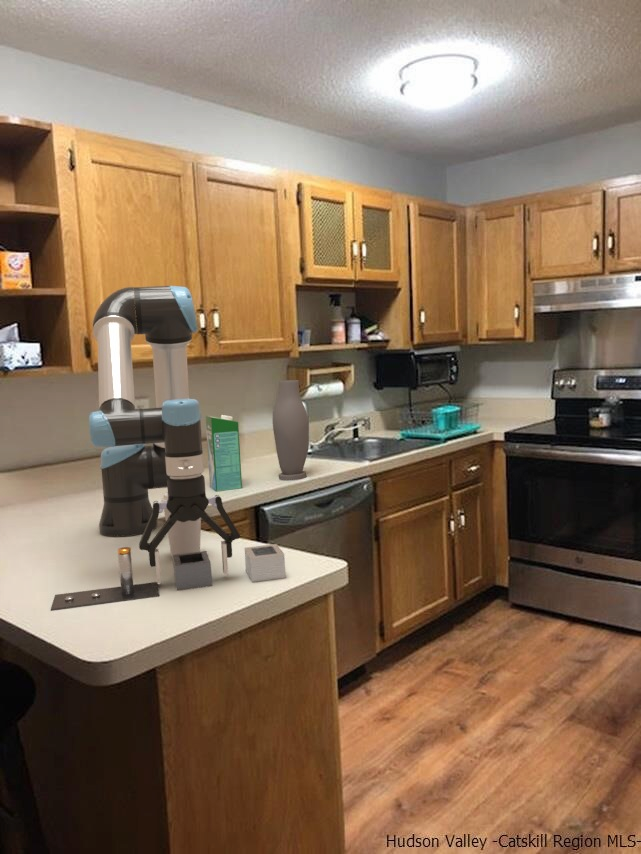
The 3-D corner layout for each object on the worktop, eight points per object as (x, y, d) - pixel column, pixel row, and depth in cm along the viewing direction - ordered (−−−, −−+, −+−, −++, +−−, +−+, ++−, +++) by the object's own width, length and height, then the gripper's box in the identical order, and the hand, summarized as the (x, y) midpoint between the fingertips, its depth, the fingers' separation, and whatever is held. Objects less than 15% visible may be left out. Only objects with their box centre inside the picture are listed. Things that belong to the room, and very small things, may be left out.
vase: (297, 481, 243) (292, 381, 240) (266, 479, 250) (262, 381, 246) (317, 475, 254) (313, 379, 251) (287, 473, 261) (283, 379, 258)
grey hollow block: (174, 577, 147) (172, 554, 147) (207, 573, 149) (206, 550, 149) (176, 590, 140) (175, 566, 139) (212, 585, 141) (210, 561, 141)
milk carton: (242, 488, 237) (237, 414, 234) (216, 491, 234) (211, 417, 231) (235, 483, 245) (231, 412, 242) (210, 486, 242) (205, 415, 239)
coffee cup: (188, 547, 169) (184, 486, 168) (215, 553, 163) (211, 490, 161) (156, 558, 162) (151, 494, 160) (183, 564, 156) (178, 499, 154)
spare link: (245, 570, 150) (244, 547, 150) (277, 566, 152) (276, 544, 151) (252, 582, 143) (250, 558, 142) (285, 577, 144) (284, 554, 144)
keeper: (55, 596, 140) (51, 551, 138) (157, 583, 145) (154, 540, 143) (50, 610, 132) (46, 563, 131) (159, 596, 137) (155, 551, 136)
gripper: (121, 484, 135) (129, 591, 137) (249, 472, 141) (255, 574, 144) (122, 478, 142) (130, 579, 144) (243, 467, 148) (249, 564, 151)
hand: (192, 577), depth 144 cm, fingers open, 13 cm apart
